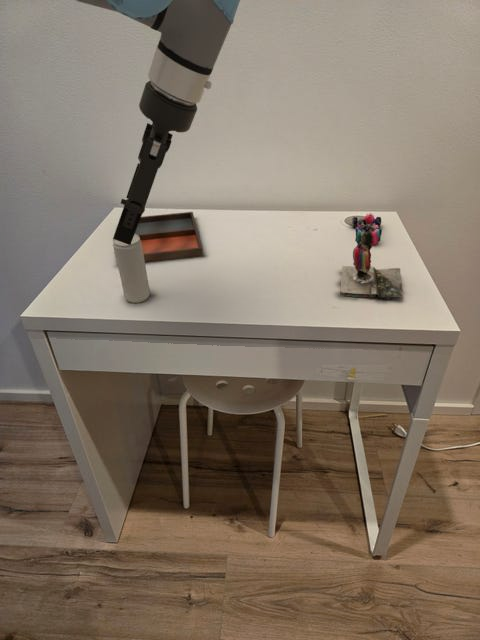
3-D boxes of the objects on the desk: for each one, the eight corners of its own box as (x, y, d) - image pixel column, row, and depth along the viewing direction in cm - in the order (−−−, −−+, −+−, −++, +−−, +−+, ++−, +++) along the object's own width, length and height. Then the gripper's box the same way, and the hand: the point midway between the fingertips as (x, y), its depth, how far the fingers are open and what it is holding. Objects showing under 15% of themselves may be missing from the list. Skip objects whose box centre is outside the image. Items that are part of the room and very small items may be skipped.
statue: (340, 301, 82) (339, 227, 73) (342, 274, 89) (342, 204, 80) (402, 301, 79) (409, 225, 70) (399, 274, 86) (405, 201, 77)
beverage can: (154, 290, 84) (144, 233, 76) (145, 305, 80) (134, 246, 73) (130, 289, 84) (118, 232, 77) (120, 303, 81) (107, 244, 73)
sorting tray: (118, 265, 92) (116, 257, 91) (120, 225, 108) (119, 218, 106) (203, 256, 94) (202, 248, 93) (193, 218, 110) (192, 211, 109)
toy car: (350, 223, 106) (352, 208, 103) (377, 223, 105) (380, 208, 103) (359, 246, 96) (361, 230, 94) (388, 246, 96) (392, 230, 94)
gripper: (196, 136, 52) (141, 270, 64) (200, 81, 70) (157, 193, 82) (134, 107, 49) (89, 252, 62) (156, 58, 68) (118, 177, 80)
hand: (128, 219), depth 72 cm, fingers open, 13 cm apart
